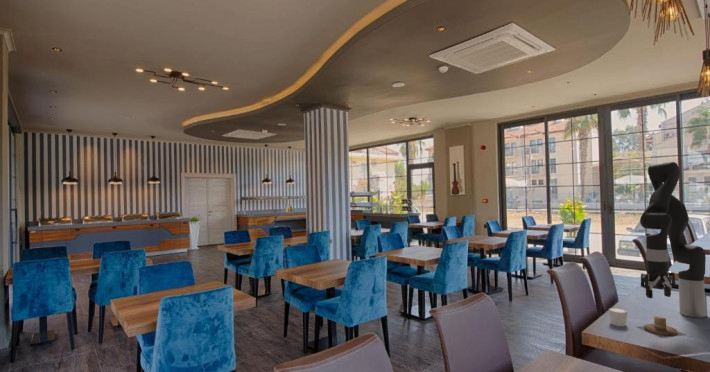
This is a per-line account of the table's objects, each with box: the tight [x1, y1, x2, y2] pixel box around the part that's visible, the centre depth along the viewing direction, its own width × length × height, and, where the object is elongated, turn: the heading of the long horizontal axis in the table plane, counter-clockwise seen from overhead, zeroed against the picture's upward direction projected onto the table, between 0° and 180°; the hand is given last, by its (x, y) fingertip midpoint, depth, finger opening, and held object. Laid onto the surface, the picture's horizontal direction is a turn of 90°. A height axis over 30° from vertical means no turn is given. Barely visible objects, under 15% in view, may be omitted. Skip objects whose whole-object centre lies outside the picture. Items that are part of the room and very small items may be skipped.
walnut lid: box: [643, 315, 678, 337], centre depth 162 cm, size 11×11×6 cm
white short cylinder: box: [608, 307, 628, 327], centre depth 172 cm, size 7×7×7 cm
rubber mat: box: [636, 325, 687, 339], centre depth 162 cm, size 12×12×1 cm
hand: (658, 297), depth 162 cm, fingers open, 8 cm apart
